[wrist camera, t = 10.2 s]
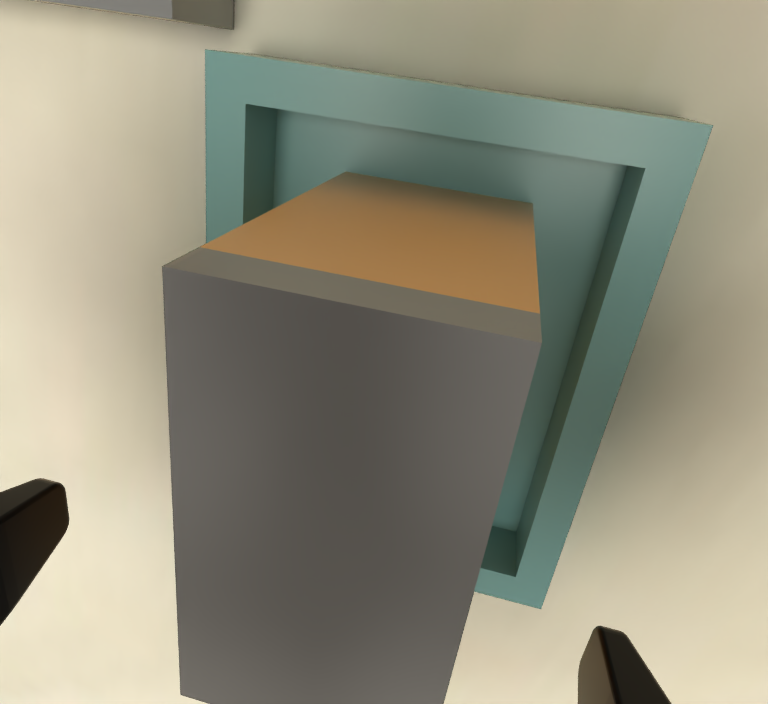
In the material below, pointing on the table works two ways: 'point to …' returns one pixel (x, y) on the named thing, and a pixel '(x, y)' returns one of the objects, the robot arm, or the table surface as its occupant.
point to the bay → (164, 9)
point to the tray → (497, 179)
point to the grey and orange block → (343, 436)
